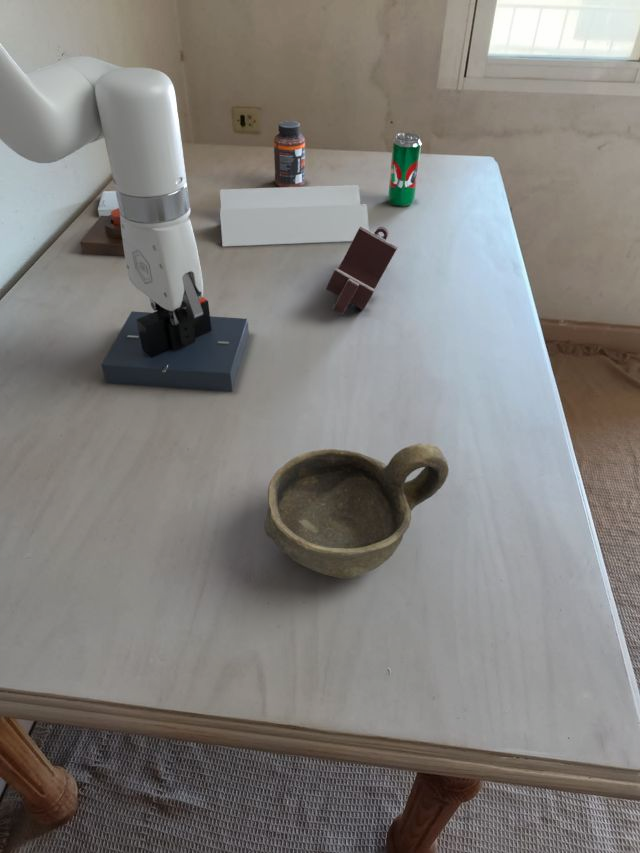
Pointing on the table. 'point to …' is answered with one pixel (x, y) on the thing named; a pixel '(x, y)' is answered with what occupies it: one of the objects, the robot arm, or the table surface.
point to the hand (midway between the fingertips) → (177, 339)
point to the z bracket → (291, 215)
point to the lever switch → (180, 358)
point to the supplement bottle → (289, 155)
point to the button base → (103, 239)
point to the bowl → (349, 506)
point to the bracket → (361, 269)
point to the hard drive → (107, 203)
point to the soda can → (404, 169)
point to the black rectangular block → (157, 331)
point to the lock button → (116, 217)
